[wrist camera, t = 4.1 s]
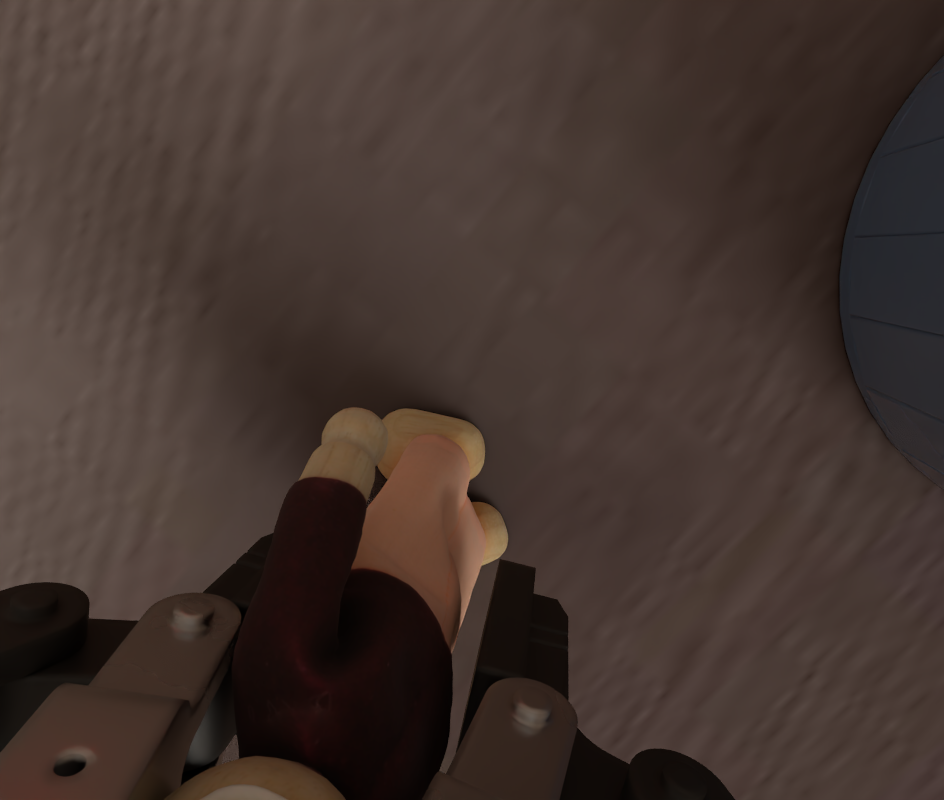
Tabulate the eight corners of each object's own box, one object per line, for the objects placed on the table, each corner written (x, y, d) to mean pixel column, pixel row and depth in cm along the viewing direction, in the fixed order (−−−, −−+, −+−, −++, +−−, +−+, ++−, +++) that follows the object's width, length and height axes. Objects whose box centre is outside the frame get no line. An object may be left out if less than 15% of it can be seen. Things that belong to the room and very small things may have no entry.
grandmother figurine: (313, 399, 16) (-449, 835, 4) (454, 342, 16) (19, 674, 3) (436, 665, 18) (120, 1626, 5) (573, 624, 17) (580, 1657, 4)
